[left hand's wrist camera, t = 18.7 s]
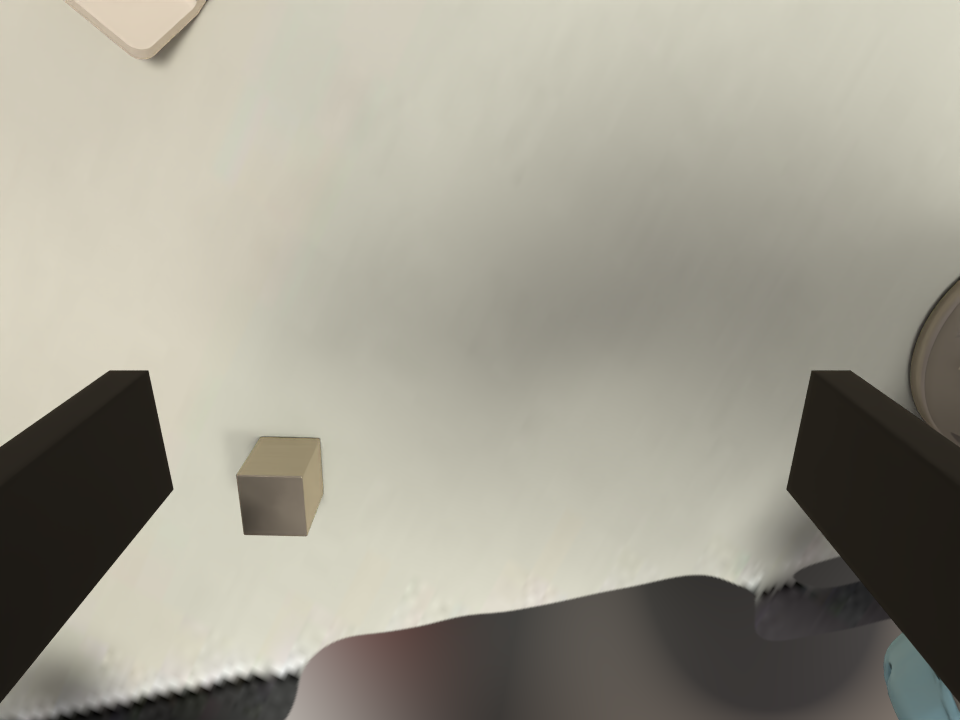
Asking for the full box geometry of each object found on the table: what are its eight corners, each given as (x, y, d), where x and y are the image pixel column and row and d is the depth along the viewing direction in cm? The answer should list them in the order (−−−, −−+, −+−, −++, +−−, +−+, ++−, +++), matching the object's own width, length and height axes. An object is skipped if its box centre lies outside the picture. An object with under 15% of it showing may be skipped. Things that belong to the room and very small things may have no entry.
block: (320, 438, 43) (302, 476, 39) (323, 493, 45) (307, 536, 41) (260, 436, 43) (235, 474, 39) (266, 492, 45) (243, 535, 40)
